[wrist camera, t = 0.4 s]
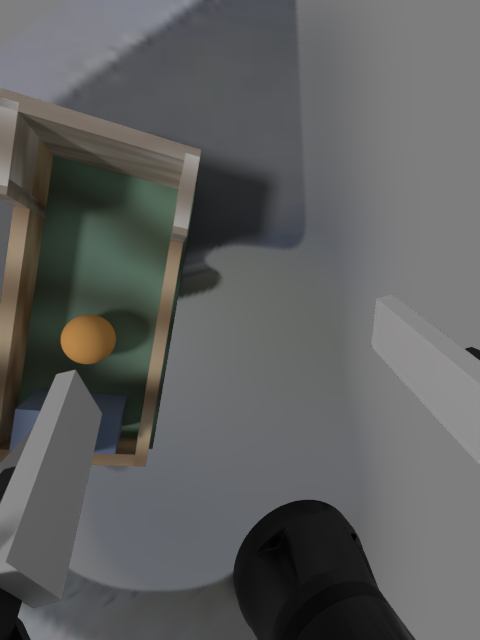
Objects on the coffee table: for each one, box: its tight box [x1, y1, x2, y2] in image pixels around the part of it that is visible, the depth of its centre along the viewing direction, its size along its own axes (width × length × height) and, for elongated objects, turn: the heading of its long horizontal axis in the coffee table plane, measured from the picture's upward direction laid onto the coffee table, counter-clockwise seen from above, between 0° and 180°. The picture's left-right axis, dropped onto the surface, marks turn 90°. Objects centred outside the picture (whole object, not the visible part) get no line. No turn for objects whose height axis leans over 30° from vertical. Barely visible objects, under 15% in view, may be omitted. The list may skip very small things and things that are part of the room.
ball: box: [61, 315, 116, 364], centre depth 25 cm, size 4×4×4 cm
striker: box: [0, 388, 127, 473], centre depth 20 cm, size 3×7×15 cm, turn 79°
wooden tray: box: [0, 88, 201, 466], centre depth 24 cm, size 25×13×8 cm, turn 169°
